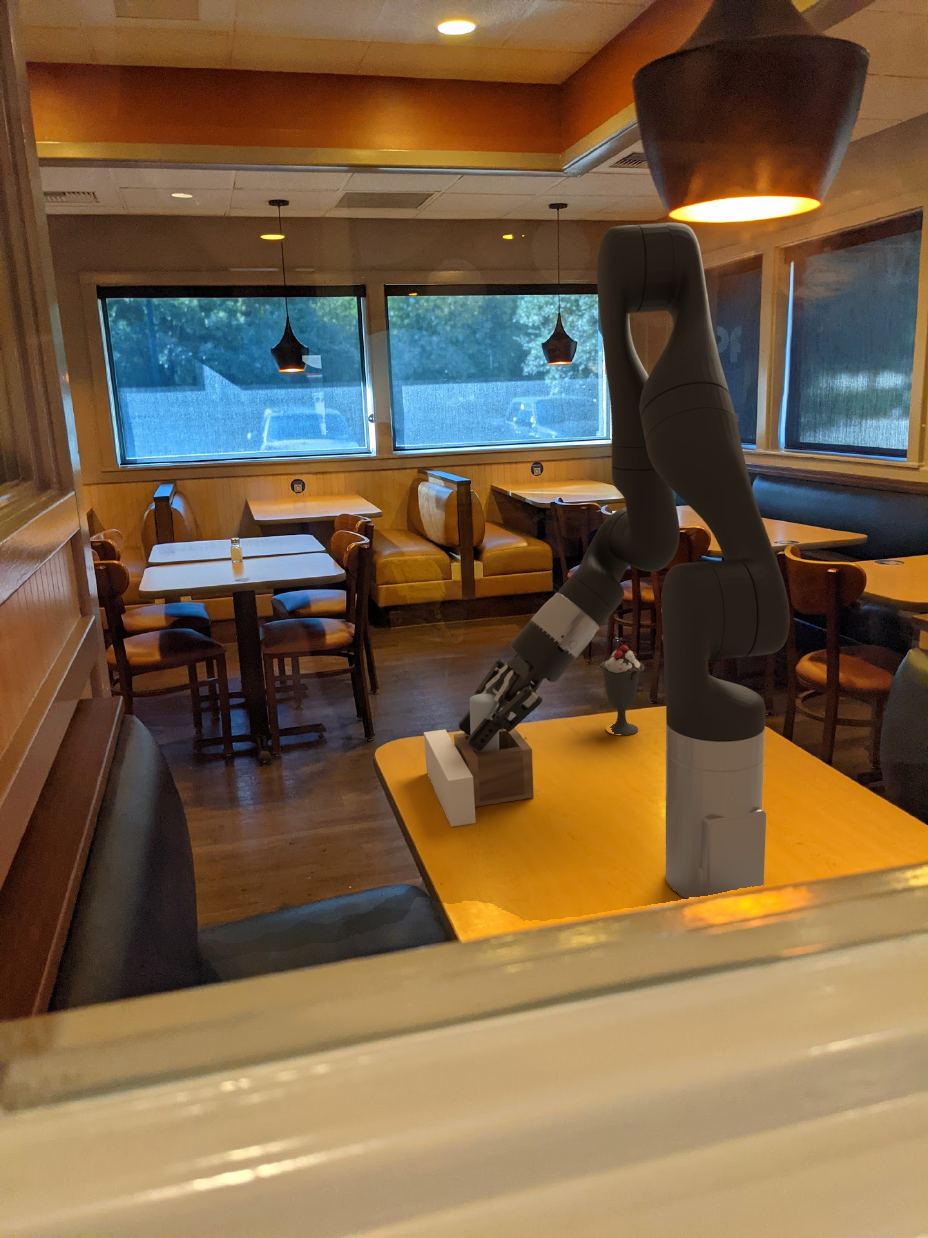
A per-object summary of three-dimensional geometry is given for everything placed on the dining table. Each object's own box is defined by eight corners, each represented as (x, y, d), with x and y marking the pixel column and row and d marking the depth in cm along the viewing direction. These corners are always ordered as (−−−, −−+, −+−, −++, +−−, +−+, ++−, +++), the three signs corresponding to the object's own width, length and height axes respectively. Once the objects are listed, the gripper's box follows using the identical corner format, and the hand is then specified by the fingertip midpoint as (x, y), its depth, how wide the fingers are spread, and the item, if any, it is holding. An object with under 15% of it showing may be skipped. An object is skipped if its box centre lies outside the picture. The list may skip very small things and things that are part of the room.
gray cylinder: (503, 789, 107) (501, 702, 103) (475, 793, 106) (473, 705, 103) (495, 777, 110) (493, 692, 107) (469, 780, 109) (466, 695, 106)
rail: (475, 823, 100) (473, 777, 98) (451, 827, 99) (448, 780, 98) (447, 769, 115) (445, 729, 114) (426, 773, 114) (423, 732, 113)
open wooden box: (533, 797, 105) (531, 749, 104) (470, 807, 104) (468, 758, 102) (515, 771, 113) (513, 726, 111) (456, 780, 111) (453, 734, 110)
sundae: (614, 741, 121) (613, 643, 118) (591, 726, 127) (589, 632, 124) (653, 733, 124) (653, 636, 120) (628, 718, 130) (627, 626, 126)
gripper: (517, 606, 111) (435, 703, 111) (552, 632, 97) (458, 742, 98) (556, 640, 113) (475, 735, 114) (596, 670, 100) (504, 777, 100)
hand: (468, 738), depth 106 cm, fingers open, 4 cm apart
